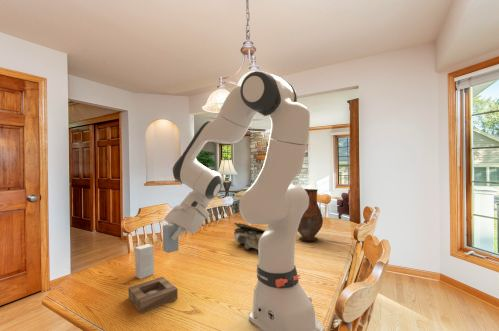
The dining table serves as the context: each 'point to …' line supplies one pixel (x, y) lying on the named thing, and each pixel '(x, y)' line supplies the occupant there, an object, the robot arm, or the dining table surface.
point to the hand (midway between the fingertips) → (168, 237)
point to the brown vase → (310, 219)
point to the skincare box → (144, 261)
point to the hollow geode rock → (248, 235)
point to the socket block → (152, 294)
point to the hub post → (168, 242)
